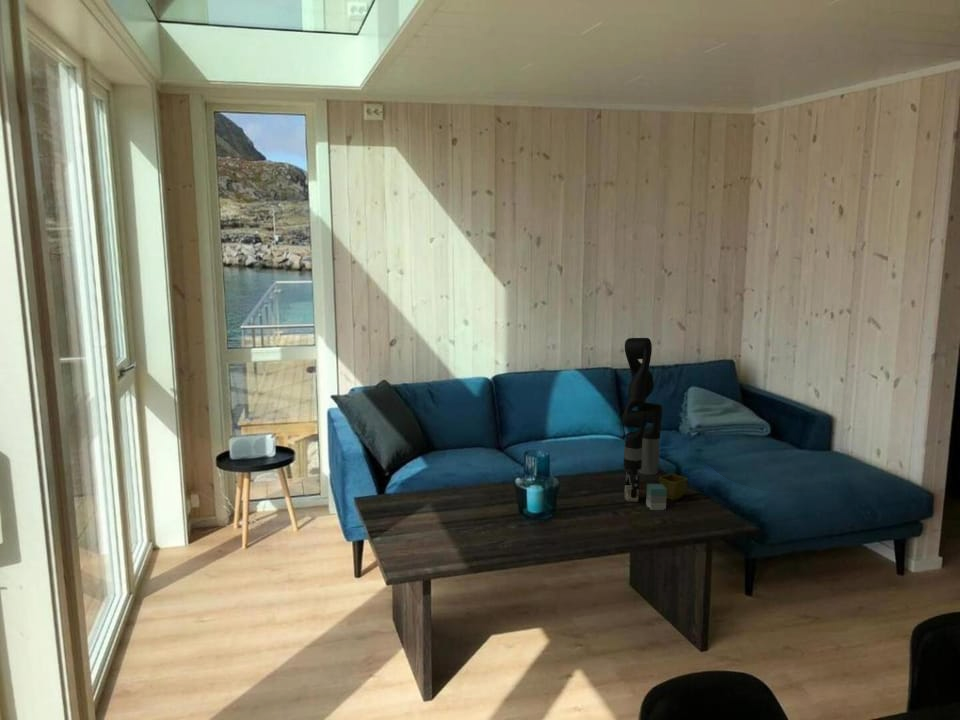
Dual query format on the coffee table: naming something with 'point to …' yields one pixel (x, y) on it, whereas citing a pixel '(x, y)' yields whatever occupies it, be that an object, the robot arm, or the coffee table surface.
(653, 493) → the slab top
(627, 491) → the birch block
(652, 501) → the slab middle
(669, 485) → the flower pot
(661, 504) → the slab bottom
